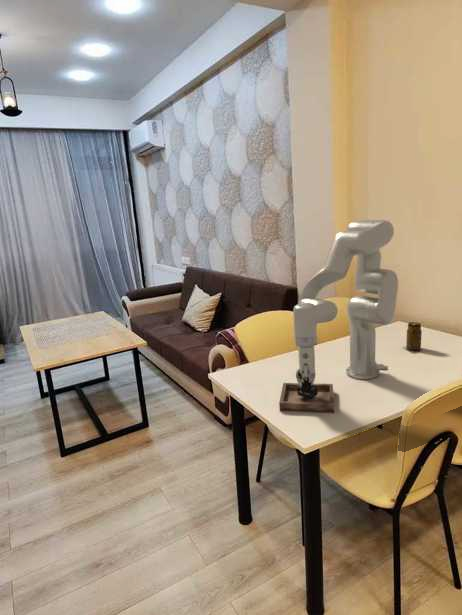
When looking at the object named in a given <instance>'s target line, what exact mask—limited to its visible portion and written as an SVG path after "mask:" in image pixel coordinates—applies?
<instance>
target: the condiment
mask: <svg viewBox="0 0 462 615" xmlns="http://www.w3.org/2000/svg"><path fill="white" fill-rule="evenodd" d="M421 327H422V325H421V323H420V322H416V321H411V322H408V324H407V328H406V341H405V342H406V344H405V345H406V346H401V348H402V349H404V350H405V351H408V352H410V353H413V354H416V353H417V354H419V353H424V352H428V350H427V349H424V348H422V347H421V346H422V328H421Z"/></svg>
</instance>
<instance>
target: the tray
mask: <svg viewBox="0 0 462 615" xmlns="http://www.w3.org/2000/svg"><path fill="white" fill-rule="evenodd" d="M312 385H314V386H317V389H318V395H316V396H315V397H313V398H312V399H309V398H306V397H302V396H299V395H298V393H297V387H298V386H299V384H298V382H283V384H282V387H281V393H280V398H279V402H278V404H279V412H295V413H296V412H298V413H322V414H323V413H325V414H327V413H328V414H335V399H334V398H335V397H334V396H335V395H334V384H333V383H313V384H312Z"/></svg>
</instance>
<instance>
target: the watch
mask: <svg viewBox="0 0 462 615" xmlns="http://www.w3.org/2000/svg"><path fill="white" fill-rule="evenodd" d="M303 373H304V372H303ZM308 373H309V372H308ZM316 375H317V374H316V372H315V374H314V375H313V374H311V375H310V382H311V389H312V392H311V393H302V374H300V367H299V368H298V369H297V370H296V373H295V378H296V381H297V382H296V383H298V384H299V386H298V387H297V393H298V395H299V396H302V397H306V398H309V399H312V398H313V397H315V396H316V395H318V389H317V386H314V385H312V384H315V383H314V382H315V380H316V379H315V378H316ZM308 377H309V375H308Z"/></svg>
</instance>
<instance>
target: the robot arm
mask: <svg viewBox="0 0 462 615" xmlns="http://www.w3.org/2000/svg"><path fill="white" fill-rule="evenodd" d="M346 228H347V229H346V230H342V231H339V232H337V233H336V234H335V236H334V238H333V240H332V243H331V245H330V248H329V250H328V254H327V256H326V258H325V261H324V263H323V266H322V268H321V269H320V270H319V271H318V272H316V273H315V274H314V275H313V276H312V277H311V278H310V279H309V280H308V281H307V282H306V283H305V285H304V287H303V288H302V291H301V293H300V296H299V299H298V302H297V304H296V305H294V306H293V309H292V310H293V311H292V312H293V335H294V336H293V337H294V345H295V346H296V347H297V349H298V350H297V351H298V365H299V368H300V374H302V393H311V392H312V389H311V382H310V375H311V374H313V375H314V374H315V373H316V361H315V360H316V359H315V358H316V357H315V354H316V353H315V347H316V346H317V345H318V334H317V329H318V327H317V325H318V324H325V323H329V322H332V321H333V320H334V319H335V318H336V317H337V315H338V306H337V305H336V304H335V303H334V302H333V301H331V300H326V299H321V298H317V296H318V294H319V292H320V291H321V290H323V289H324V288H326V287H327V286H329V285H331V284H334V283H337V282H338V281H341V280H344V279H345V278H346V277H347V274H348V270H349V268H350V266H351V263H352V260H353V258H354V257H355V256H357V259H356V269H355V276H354V287H355V290H357V291H358V292H361V293H366V294H374V295H378V296H377V297H374V296H367V295H366V296H365V295H355V296H353V297H352V298H350V299H349V300H348V302H347V305H346V308H347V312H346V313H347V315H348V320H349V336H350V337H349V356H350V357H349V366H348V367H346V370H345V373H346V375H347V376H348V377H350V378H354V379H356V380H372V379H375V378H377V377H379V376H380V371H387V372H388V371H389V366H388V365H384V363H378V362H376V338H377V337H376V335H377V334H376V328H375V325H374V324H377V325H383V326H385V325H388V324H390V323H391V322H392V321H393V319H394V316H395V311H396V305H397V299H398V290H399V278H398V275H397V273H396V272H395V271H393V270H391V269H389V268H387V269H386V268H381V260H382V255H381V250H380V249H382V248H383V247H385V246H386V245H388V244H389V243H390V242H391V240H392V239H393V236H394V233H395V232H394V231H395V229H394V226H393V224H392V223H391V221H388V220H385V219H383V220H382V219H379V220H378V219H377V220H376V219H374V220H373V219H372V220H371V219H370V220H368V219H365V220H355V221H351V222H350V223H348V225H347V227H346ZM303 372H304V373H303ZM308 372H309V373H308ZM308 375H309V377H308Z"/></svg>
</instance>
